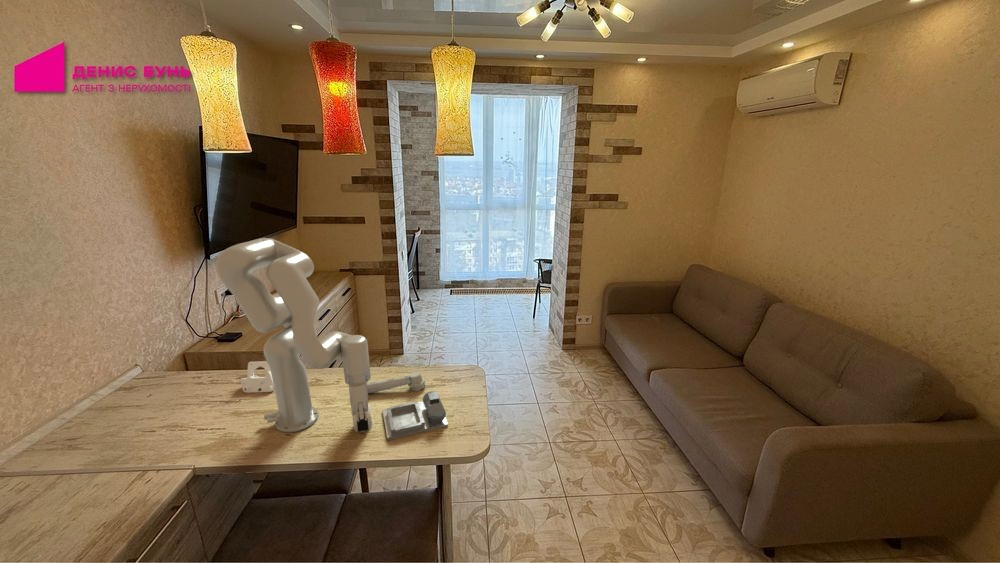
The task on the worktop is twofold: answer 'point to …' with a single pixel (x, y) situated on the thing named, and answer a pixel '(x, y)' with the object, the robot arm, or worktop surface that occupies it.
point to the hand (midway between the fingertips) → (362, 423)
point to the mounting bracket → (257, 379)
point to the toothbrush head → (398, 383)
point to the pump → (364, 415)
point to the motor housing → (415, 417)
